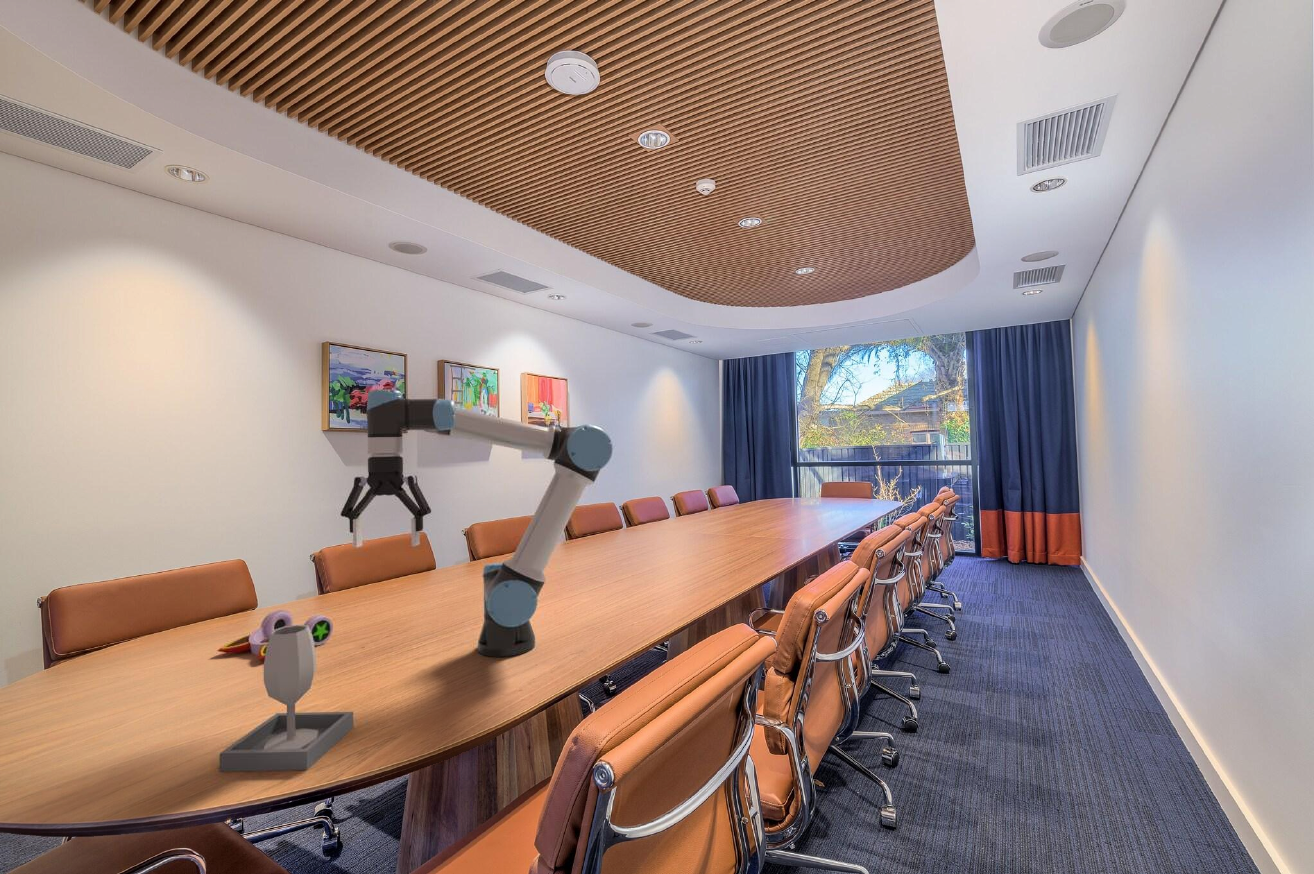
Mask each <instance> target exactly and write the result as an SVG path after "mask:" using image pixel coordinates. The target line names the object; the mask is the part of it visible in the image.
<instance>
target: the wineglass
mask: <svg viewBox="0 0 1314 874" xmlns="http://www.w3.org/2000/svg"><path fill="white" fill-rule="evenodd" d="M316 669H317V655H316V646H314V641H313V636H312V633H311V631H310V628H309V626H308V625H304V624H294V625H292V626H284V627H281V628H279V629H276V630H273V632H272V633H271V635H270V638H269V639H268V645H267V648H266V655H265V659H264V662H263V684H264V686H265V689H266V692H267V695H268V697H269V698H271V699H273V700H276V701H278V702H279V703H281V704H284V705H285V706H286V713H287V732H283V733H281V734H279V735H277V736H275V737H274V738H272V739H270V740H268V741H267V742H266V744H265V746H264V749H305V748H306V747H307V746H308V745H310V744H311V743H312V742H313V741H314V740H316V739H317V736H318V733H319V731H318V730H312V729H298V730H296V722H295V713H296V703H297V702H298V701H299V700H300V699H301V698H302V697H304V695H306V693H308V692H309V690H310V689H311V687H312V683H313V681H314V676H315V673H316Z"/></svg>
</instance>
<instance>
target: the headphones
mask: <svg viewBox="0 0 1314 874" xmlns="http://www.w3.org/2000/svg"><path fill="white" fill-rule="evenodd" d="M293 624H294V620H293V616H292V614H291V612H289V611H287V610H284V609H279V610H274V611H272V612H270V613H268V614H267V615H266V616H265V617H264V619H263V620H262V622H261V626H260V627H258V628H257V629H255V630H254V631H253V632H252V633H250V634H247V635H244V636H242V637H239V638H237V639H234V640H233V641H230V642H229V643H227V644H225V645H223V646H222V647H220V648H219V649H217V650H216V652H220V653H225V654H226V653H241V652H245V651H251V653H252V654H253V655H256V656H258V658H259V659H260V660H265V655H266V648H267V645H268V642H269V641H268V642H263V641H264V640H265V639H267V640H269V638H270V635H271V633H272V632H273V630H276V629H279V628H281V627H284V626H292V625H293ZM303 625H308V626H309V628H310V631H311V633H312V636H313V641H314V646H315V647H317V646H320V645H323V644H325V643H327V641H328V640H330V638H331V637H332V633H333V629H334V626H333V622H332V620H331V619H330V618H329V617H327V616H326V615H325V614H315V615H313V616H311V617H309V618H308V619H307V620H306V621H305V622H304V624H303Z"/></svg>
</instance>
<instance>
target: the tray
mask: <svg viewBox="0 0 1314 874" xmlns="http://www.w3.org/2000/svg"><path fill="white" fill-rule="evenodd" d="M295 722H296V730H298V729H312V730H318V731H319V733H318V736H317V739H316V740H314V741H313V742H312V743H311V744H310V745H308V746H307V747H306V748H305V749H264V746H265V744H266V742H267V741H268V740H270V739H272V738H274V737H275V736H277V735H279V734H281V733H283V732H287V712H277V713H275V714H274V715H272V716H270V717H269V718H268V719H266V720H264V721H262V722H261V724H259V725H258V726H256V727H255V728H254V729H252V730H250V731H249V732H248V733H247V734H244V735H243V736H242V737H241V738H239V739H237V741H235V742H234V743H232V744H230V745H229V746H227V747H226V748H225V749H223V750H222V751H220V752H219V755H218V756H219V758H218V759H219V760H218V761H219V772H262V771H263V772H265V771H267V772H269V771H272V772H273V771H275V772H276V771H307V770H309V769H310V768H311V767H312V766H314V764H316V763H317V762H318V761H319V760H320V759H321V758H322V757H323V756H324V755H326V753H327V752H329V750H331V749H332V748H333V747H334V746H335V745H336V744H338V742H340V740H341V739H342V738H344V737H345V736H346V735H347V734H348V733H350V731H351V730H352V729H353V728H354V711H321V712H320V711H319V712H313V711H312V712H295Z"/></svg>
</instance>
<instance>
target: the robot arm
mask: <svg viewBox="0 0 1314 874" xmlns="http://www.w3.org/2000/svg"><path fill="white" fill-rule="evenodd" d="M366 421H367V422H366V425H367V427H366V428H367V455H369V457H368V458H367V473H368V475H367V477H364V476H356V477H354V481H353V487H352V489H351V490H350V493H349V494H348V497H347V500H346V501H345V504H344V505H343V508H342V510H341V512H340V516H341V517H345V518H347V519H348V520H349V532H350V534H352V536H353V537H352V542H353V545H352V546H353V549H354V548H360V547H362V546H363V518H362V517H360V516H361V515H362V514H363V512H364V510H366V508H367V507H368V505H370V503H371V502H372V501H373V500H374V498H375V497H377V496H379V497H380V496H395V497H396V498H398V499H399V500H400V502H402V504H403V506H405V507H406V508H407V510H408V511H409V512H410V513H411V514H412V515H413V516H414V517H411V519H410V521H411V522H410V524H411V525H410V528H411V530H410V532H411V535H410V536H411V537H410V539H411V547H416V546H419V545H420V532H423V530H424V517H425V516H427V515H430V514H431V513H432V509H431V507H430V506H429V504H428V502H427V500H426V497H425V496H424V494H423V492H422V489H421V487H420V486H419V485H418V477H417V476H416V475H415V474H414V475H409V476H404V474H403V473H404V459H403V456H401V455H402V454H403V451H404V449H403V444H404V443H403V431H423V432H426V433H431V434H433V433H435V434H439V435H445V436H451V437H456V438H459V439H465V440H471V441H474V442H475V441H476V442H480V443H485V444H489V445H494V446H495V445H496V446H501V447H504V448H510V449H514V450H519V451H524V452H530V453H533V454H539V455H542V456H543V458H544V459H545V460H550V461H554V462H553V467H554V470H555V473H554V475H553V477H552V479H551V480H550V482H549V485H548V487H547V488H546V491H545V492H544V495H543V496H542V498H541V501H540V502H539V505H538V506H537V508H536V510H535V512H534V515H533V516H532V519H531V520H530V521H529V522H530V523H529V524H528V526H527V527H526V530H525V533H524V534H523V536H522V538H521V540H520V542H519V543H518V546H517V548H516V549H515V552H514V554H513V556H512V557H510V558H509V559H505V560H504V561H502V562H494V563H488V564H486V565H484V567H483V574H482V578H483V620H484V621H483V624H482V628H481V630H480V632H479V633H480V634H479V637H478V641H477V652H478V653H479V654H480V655H483V656H486V657H493V658H494V657H496V658H497V657H498V658H504V657H512V656H516V655H521V654H524V653H527V652H529V651H531V650H532V649H533V648H535V646H536V636H535V632H534V629H533V626H532V624H531V621H530V619H531V618H532V617H533V616H534V615H535V612H536V610H537V607H538V602H539V600H538V599H539V598H538V597H539V595H540V594H541V591H542V588H543V587H544V584H545V583H546V578H545V577H546V576H545V573H544V571H545V569H546V568H547V565H548V563H549V561H550V559H551V557H552V555H553V554H554V551H555V549H556V547H557V545H558V543H559V541H560V538H561V536H562V535H563V532H564V530H565V528H566V526H567V525H568V523H569V521H570V519H571V516H572V514H573V512H574V510H575V509H576V507H577V505H578V502H579V501H580V498H581V496H582V495H583V492H584V491H585V488H586V487H588V486H590V485H593V484H594V483H595V481H596V479H597V477H599V476H598V475H599V474H600V471H601V469H603V468H605V466H607V464H608V463H609V462H610V460H611V458H612V455H613V443H612V440H611V437H610V436H609V435H608V433H607V432H606V431H605V430H604V429H602V428H601V427H600V426H596V425H594V424H593V425H592V424H583V425H578V426H575V427H573V426H572V427H564V426H558V425H555V424H554V425H549V427H545V426H541V425H536V424H532V423H526V422H523V421H518V420H513V419H508V418H503V417H499V416H495V415H490V414H485V413H480V412H477V411H471V410H468V409H467V410H466V409H461V408H456V407H455V402H454V400H452V399H447V398H446V399H443V398H438V399H437V398H424V399H423V398H422V399H421V398H420V399H419V398H418V399H417V398H416V399H415V398H414V399H412V398H411V399H410V398H404V397H403V394H402V392H401V391H400V390H396V389H374V390H371V391H369V392H368V394H367V404H366ZM404 484H405V485H407V486H408V488H409V490H410V493H411V495H412V496H413V498H414V500H413V499H412V498H411V497H410V496H409V495H408V493H407V491H406V490H405V489H404V488H403V487H402V486H403V485H404ZM366 485H368V486H369V489H367V491H366V492H365V495H364V496H363V498H362V499H361V500H360V501H359V502H358V500H359V497H360V496H361V495H362V492H363V489H364V487H365V486H366ZM415 501H416V503H415ZM357 502H358V503H357Z"/></svg>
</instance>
